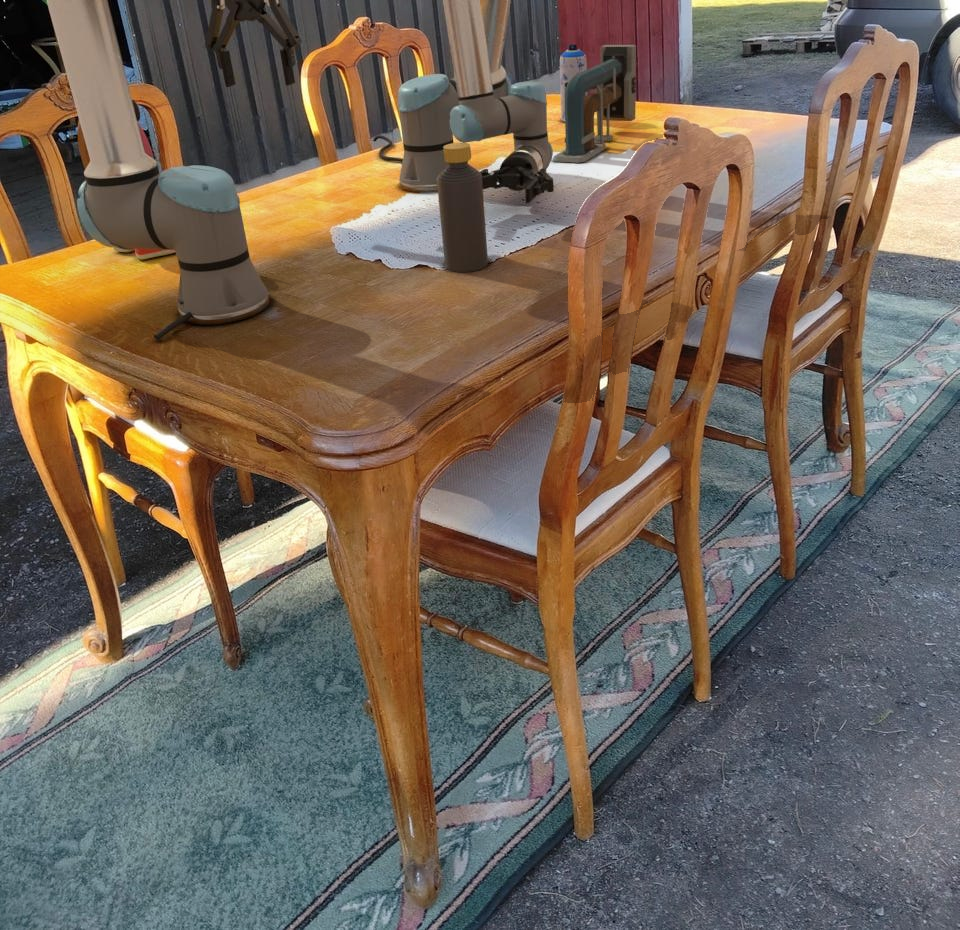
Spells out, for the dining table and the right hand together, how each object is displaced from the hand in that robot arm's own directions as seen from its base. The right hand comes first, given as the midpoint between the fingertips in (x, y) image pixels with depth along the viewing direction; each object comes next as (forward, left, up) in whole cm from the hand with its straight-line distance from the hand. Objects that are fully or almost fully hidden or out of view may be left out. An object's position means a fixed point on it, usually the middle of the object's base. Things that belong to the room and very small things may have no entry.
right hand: (493, 196), depth 188 cm
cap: (+17, -8, +14) cm, 23 cm away
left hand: (-26, -42, +21) cm, 54 cm away
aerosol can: (-97, +39, -7) cm, 104 cm away
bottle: (+17, -8, -7) cm, 20 cm away
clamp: (-63, +36, -7) cm, 73 cm away
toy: (-16, -70, -7) cm, 72 cm away
